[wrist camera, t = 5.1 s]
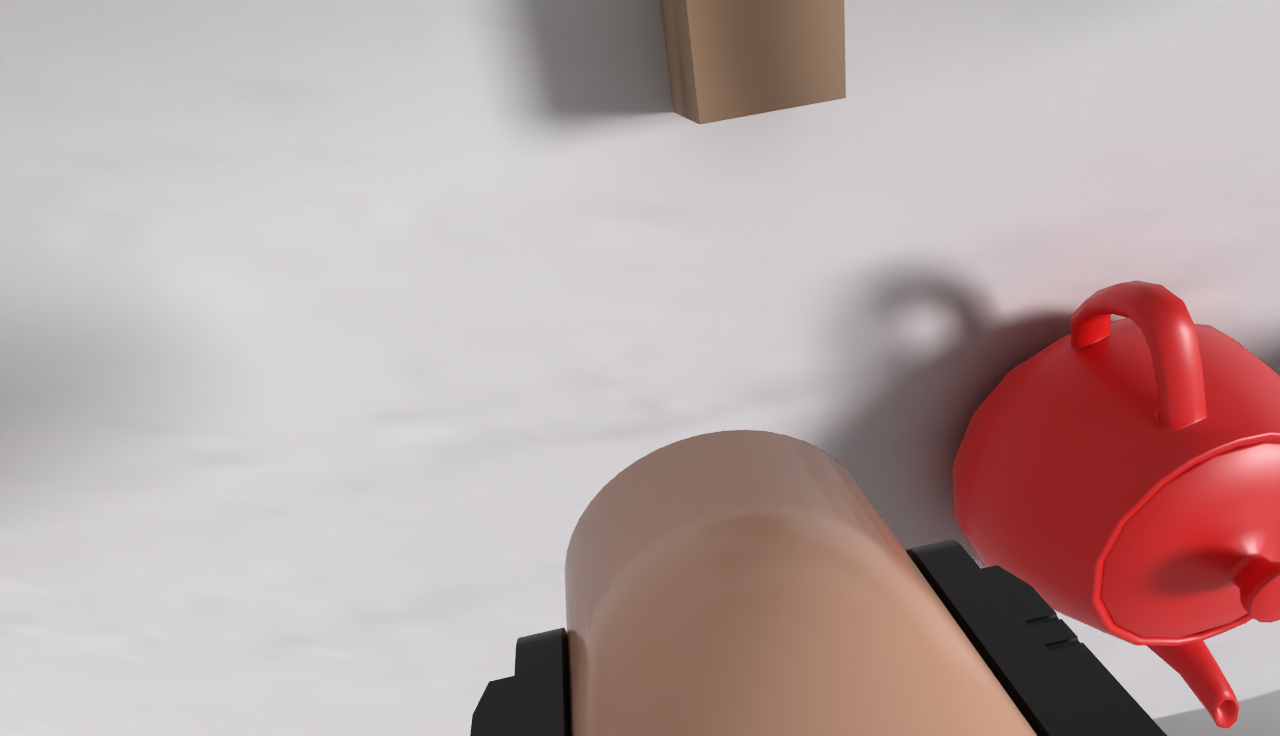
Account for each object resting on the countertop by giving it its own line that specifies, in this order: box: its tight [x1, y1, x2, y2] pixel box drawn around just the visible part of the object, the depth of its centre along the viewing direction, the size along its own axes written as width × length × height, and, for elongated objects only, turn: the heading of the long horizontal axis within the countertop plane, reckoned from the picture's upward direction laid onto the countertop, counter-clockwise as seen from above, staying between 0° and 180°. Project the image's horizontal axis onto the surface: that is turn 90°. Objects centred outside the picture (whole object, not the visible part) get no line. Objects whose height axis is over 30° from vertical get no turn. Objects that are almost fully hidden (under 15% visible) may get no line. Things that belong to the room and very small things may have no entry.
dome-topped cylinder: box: [565, 430, 1037, 736], centre depth 9 cm, size 6×6×7 cm
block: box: [660, 0, 846, 124], centre depth 23 cm, size 5×5×5 cm
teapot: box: [952, 281, 1280, 728], centre depth 31 cm, size 25×16×12 cm, turn 25°
